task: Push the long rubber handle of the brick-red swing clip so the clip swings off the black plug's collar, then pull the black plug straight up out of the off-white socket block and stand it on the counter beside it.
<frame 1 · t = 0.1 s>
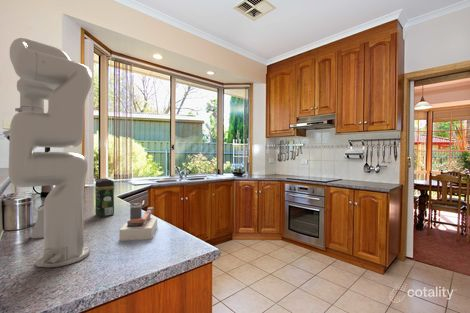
hand: (32, 153, 96), 31 cm above the worktop, tool pointing down, fingers open, 9 cm apart
tin: (53, 222, 103), on the worktop
clip: (143, 214, 93), point 7 cm above the worktop, hinge at 0.0°
coffee jar: (104, 215, 116), on the worktop
plug: (135, 234, 88), resting in socket block
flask: (42, 236, 86), on the worktop
socket block: (139, 233, 89), on the worktop
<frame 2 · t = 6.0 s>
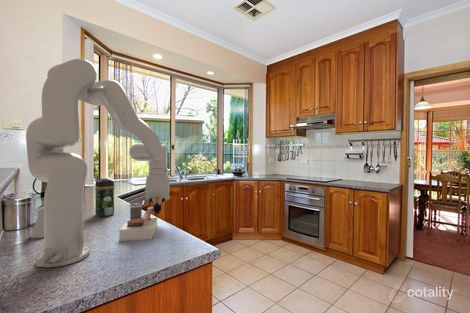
hand: (157, 213, 101), 5 cm above the worktop, tool pointing down, fingers closed
clip: (143, 214, 93), point 7 cm above the worktop, hinge at 0.0°, touching gripper
everything else where it was.
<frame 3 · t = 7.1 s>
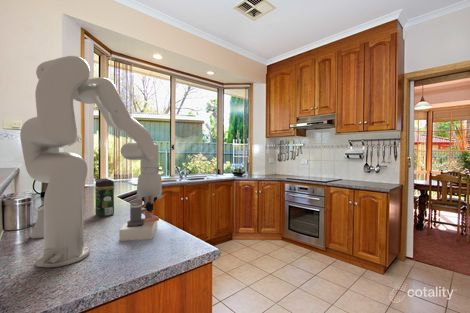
hand: (149, 212, 101), 6 cm above the worktop, tool pointing down, fingers closed
clip: (144, 214, 92), point 7 cm above the worktop, hinge at 28.9°, touching gripper
everything else where it was.
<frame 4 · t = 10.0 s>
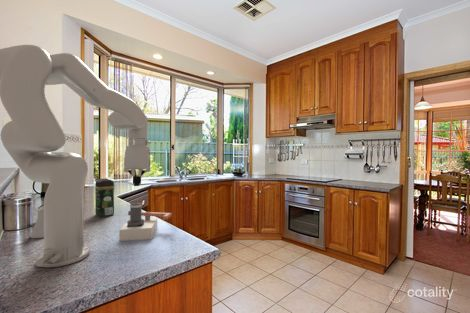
hand: (136, 185, 98), 18 cm above the worktop, tool pointing down, fingers closed
clip: (148, 214, 93), point 7 cm above the worktop, hinge at 72.0°
everything else where it was.
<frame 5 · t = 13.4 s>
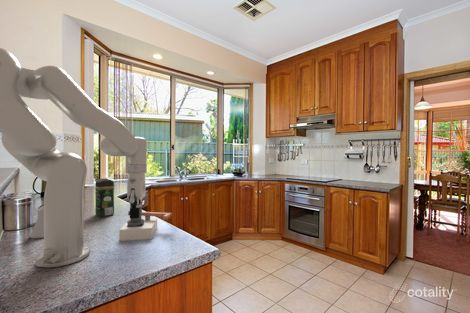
hand: (135, 215, 88), 7 cm above the worktop, tool pointing down, fingers closed on plug, 4 cm apart
plug: (135, 234, 88), resting in socket block, touching gripper
everything else where it was.
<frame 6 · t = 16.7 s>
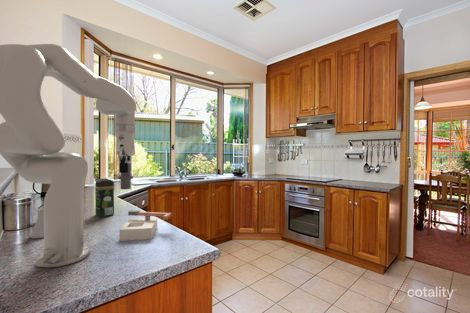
hand: (125, 171, 97), 24 cm above the worktop, tool pointing down, fingers closed on plug, 4 cm apart
plug: (125, 188, 97), point 16 cm above the worktop, touching gripper
everything else where it was.
when the fingers open (9 cm above the worktop, at t = 20.0 s): plug drops 1 cm, on the worktop.
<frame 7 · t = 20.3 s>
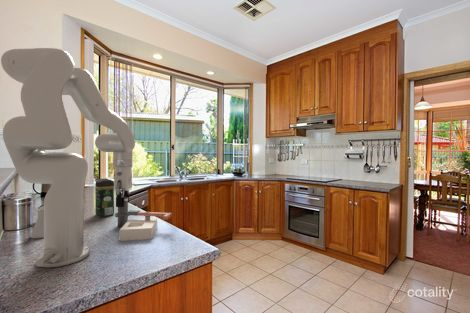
hand: (122, 204, 99), 9 cm above the worktop, tool pointing down, fingers open, 6 cm apart
plug: (122, 225, 99), on the worktop
everything else where it was.
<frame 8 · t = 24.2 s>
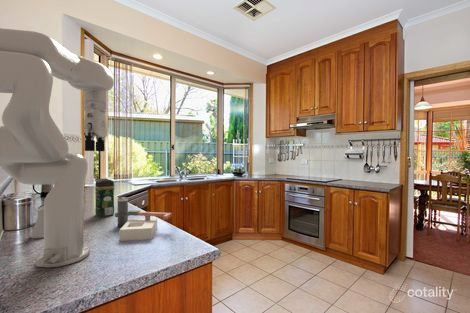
hand: (95, 151, 89), 32 cm above the worktop, tool pointing down, fingers open, 9 cm apart
nothing on the worktop moved.
at the end: clip at +72° (first picture: +0°); plug inside the target area (0.1 cm from its centre), on the worktop; plug tilted 0° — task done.
